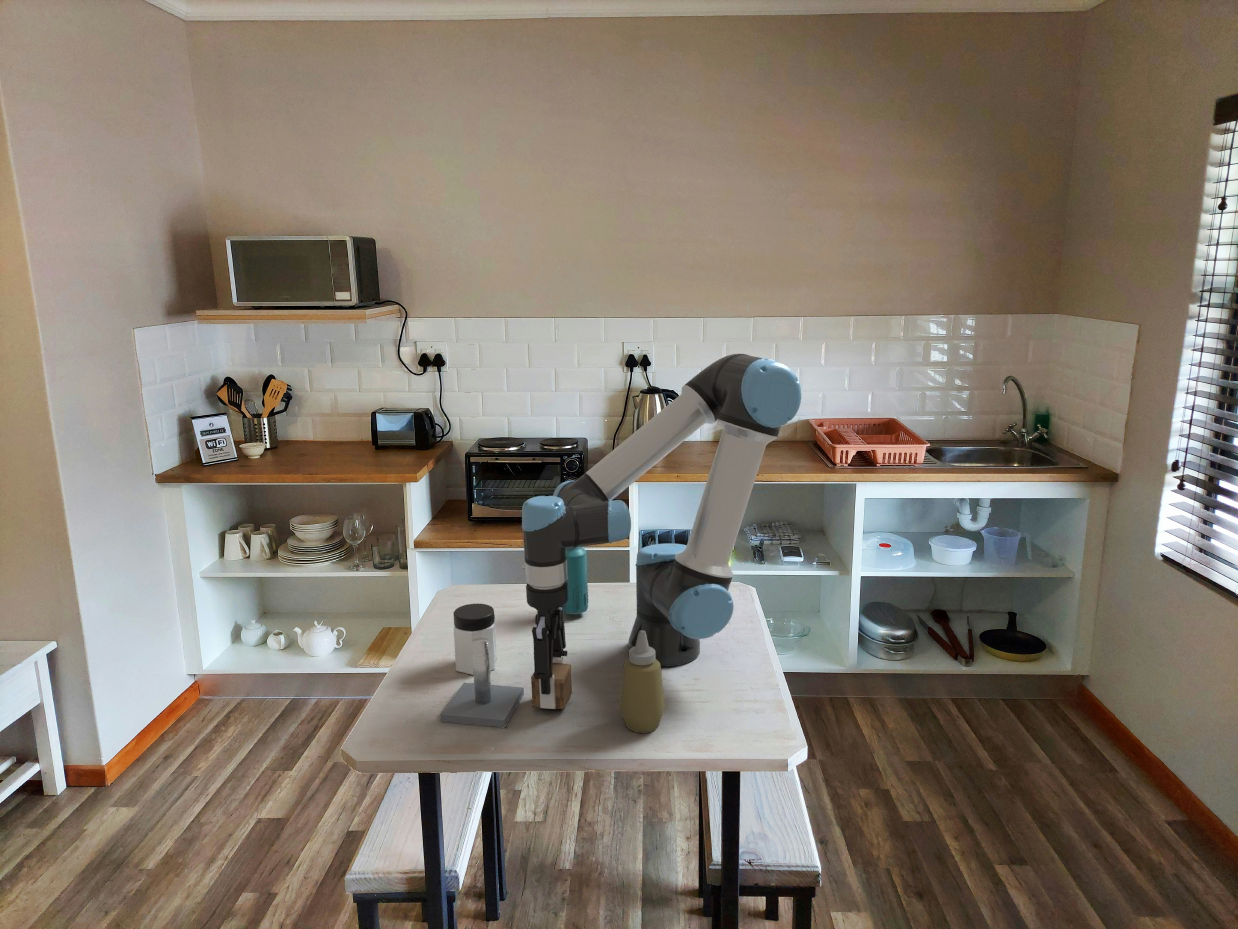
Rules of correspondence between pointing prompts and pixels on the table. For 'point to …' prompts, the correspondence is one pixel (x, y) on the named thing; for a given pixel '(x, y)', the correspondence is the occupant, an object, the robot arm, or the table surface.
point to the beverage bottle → (576, 581)
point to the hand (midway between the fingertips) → (552, 698)
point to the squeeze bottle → (642, 688)
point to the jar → (473, 634)
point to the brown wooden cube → (561, 685)
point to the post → (481, 670)
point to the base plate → (482, 706)
